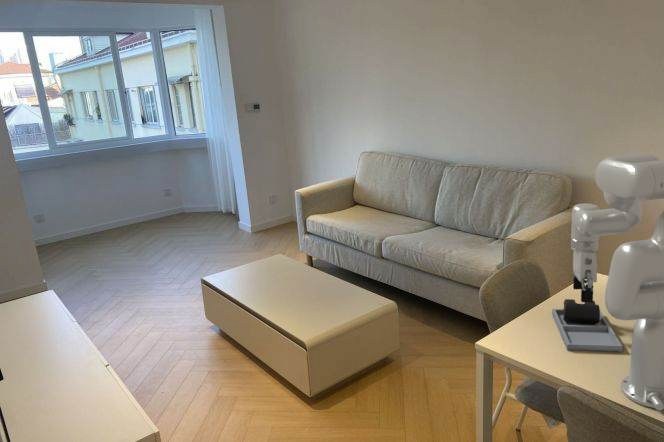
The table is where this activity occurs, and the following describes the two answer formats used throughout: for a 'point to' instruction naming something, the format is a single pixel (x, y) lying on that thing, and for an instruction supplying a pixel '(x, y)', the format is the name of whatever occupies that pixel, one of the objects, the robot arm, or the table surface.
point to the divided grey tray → (587, 334)
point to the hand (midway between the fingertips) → (582, 295)
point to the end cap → (581, 312)
